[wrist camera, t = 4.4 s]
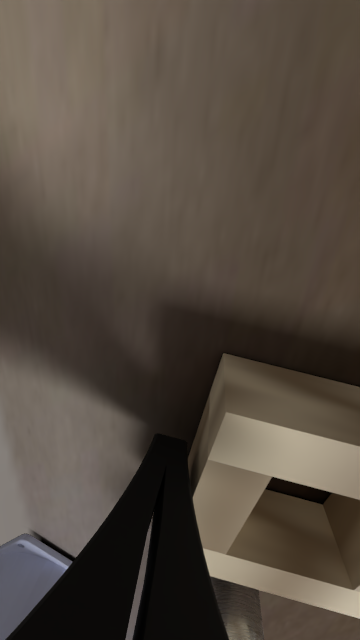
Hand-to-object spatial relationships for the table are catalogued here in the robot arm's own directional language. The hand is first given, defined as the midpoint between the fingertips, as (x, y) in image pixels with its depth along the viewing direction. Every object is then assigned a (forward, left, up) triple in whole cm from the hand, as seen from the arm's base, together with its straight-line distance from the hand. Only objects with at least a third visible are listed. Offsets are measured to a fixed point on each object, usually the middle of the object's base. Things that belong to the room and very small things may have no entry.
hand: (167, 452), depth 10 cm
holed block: (+3, -5, -1) cm, 6 cm away
